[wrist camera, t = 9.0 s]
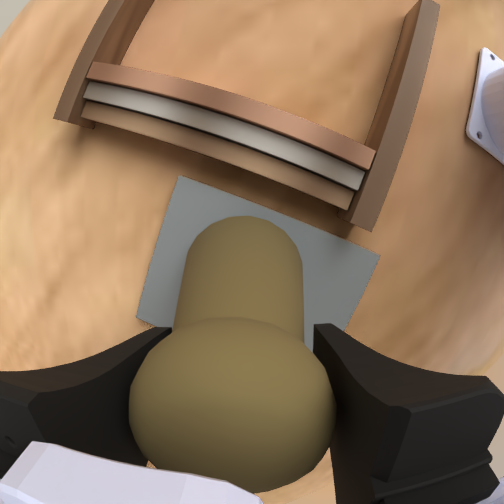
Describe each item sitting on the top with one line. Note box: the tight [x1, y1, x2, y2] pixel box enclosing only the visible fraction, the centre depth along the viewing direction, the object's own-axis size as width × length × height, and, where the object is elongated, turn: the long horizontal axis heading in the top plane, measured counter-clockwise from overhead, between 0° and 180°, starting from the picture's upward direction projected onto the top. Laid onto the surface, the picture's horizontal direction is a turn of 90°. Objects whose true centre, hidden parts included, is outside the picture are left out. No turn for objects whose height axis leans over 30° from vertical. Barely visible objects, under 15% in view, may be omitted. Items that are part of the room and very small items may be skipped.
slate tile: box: [136, 175, 380, 353], centre depth 18 cm, size 12×9×1 cm
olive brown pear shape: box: [129, 216, 337, 494], centre depth 11 cm, size 6×6×11 cm
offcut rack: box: [53, 0, 440, 232], centre depth 14 cm, size 18×15×3 cm
